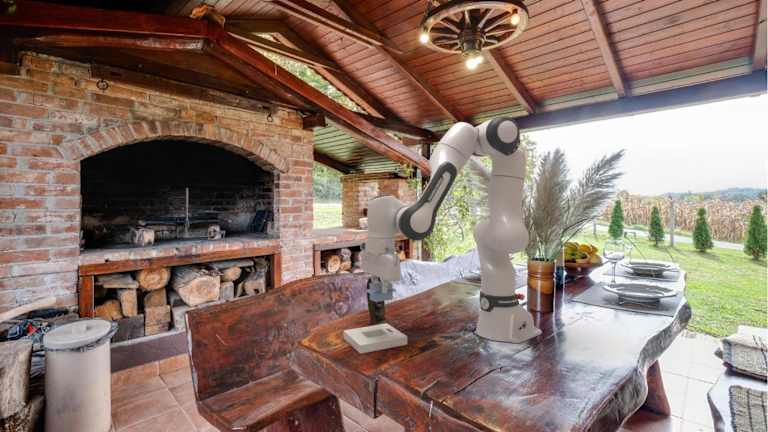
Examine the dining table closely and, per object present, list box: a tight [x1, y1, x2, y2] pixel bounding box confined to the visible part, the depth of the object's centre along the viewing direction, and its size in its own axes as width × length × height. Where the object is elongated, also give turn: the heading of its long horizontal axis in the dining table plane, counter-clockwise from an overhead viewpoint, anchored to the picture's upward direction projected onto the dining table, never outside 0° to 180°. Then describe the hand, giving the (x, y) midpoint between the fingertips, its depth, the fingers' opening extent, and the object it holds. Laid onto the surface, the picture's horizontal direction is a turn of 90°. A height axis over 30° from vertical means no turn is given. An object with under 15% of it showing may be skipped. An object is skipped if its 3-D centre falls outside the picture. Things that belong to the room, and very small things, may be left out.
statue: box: [366, 276, 389, 326], centre depth 130 cm, size 7×7×20 cm
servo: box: [365, 281, 397, 302], centre depth 111 cm, size 8×4×6 cm, turn 118°
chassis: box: [343, 323, 408, 355], centre depth 114 cm, size 16×14×3 cm
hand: (379, 290), depth 111 cm, fingers closed on servo, 4 cm apart
